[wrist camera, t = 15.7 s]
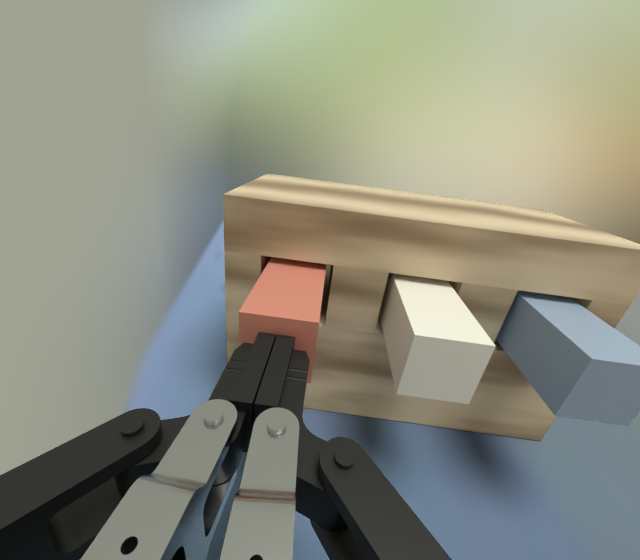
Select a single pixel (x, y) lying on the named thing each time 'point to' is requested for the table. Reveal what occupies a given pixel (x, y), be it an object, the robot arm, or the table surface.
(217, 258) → the table surface
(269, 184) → the key box
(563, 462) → the table surface
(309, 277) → the red key
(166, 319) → the table surface
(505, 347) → the blue key
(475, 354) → the white key
